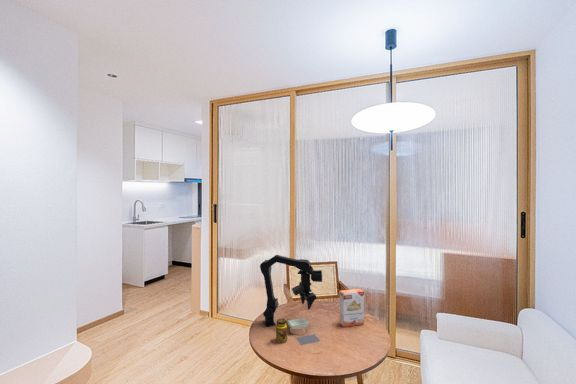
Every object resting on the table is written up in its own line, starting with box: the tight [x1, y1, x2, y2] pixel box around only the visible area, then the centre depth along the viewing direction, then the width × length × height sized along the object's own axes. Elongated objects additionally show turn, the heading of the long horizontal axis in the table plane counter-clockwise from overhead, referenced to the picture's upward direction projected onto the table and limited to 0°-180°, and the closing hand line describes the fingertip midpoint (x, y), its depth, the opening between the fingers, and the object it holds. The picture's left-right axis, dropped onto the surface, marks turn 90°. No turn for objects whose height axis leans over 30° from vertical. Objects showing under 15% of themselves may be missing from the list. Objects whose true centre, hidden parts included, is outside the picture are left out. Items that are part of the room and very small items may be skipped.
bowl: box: [289, 326, 307, 336], centre depth 168 cm, size 9×9×4 cm
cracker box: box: [339, 288, 365, 328], centre depth 177 cm, size 14×6×21 cm, turn 105°
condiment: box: [275, 318, 288, 344], centre depth 158 cm, size 7×8×12 cm
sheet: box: [287, 317, 310, 329], centre depth 168 cm, size 7×10×2 cm
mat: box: [295, 334, 321, 346], centre depth 158 cm, size 8×12×1 cm
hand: (305, 306), depth 174 cm, fingers open, 9 cm apart
